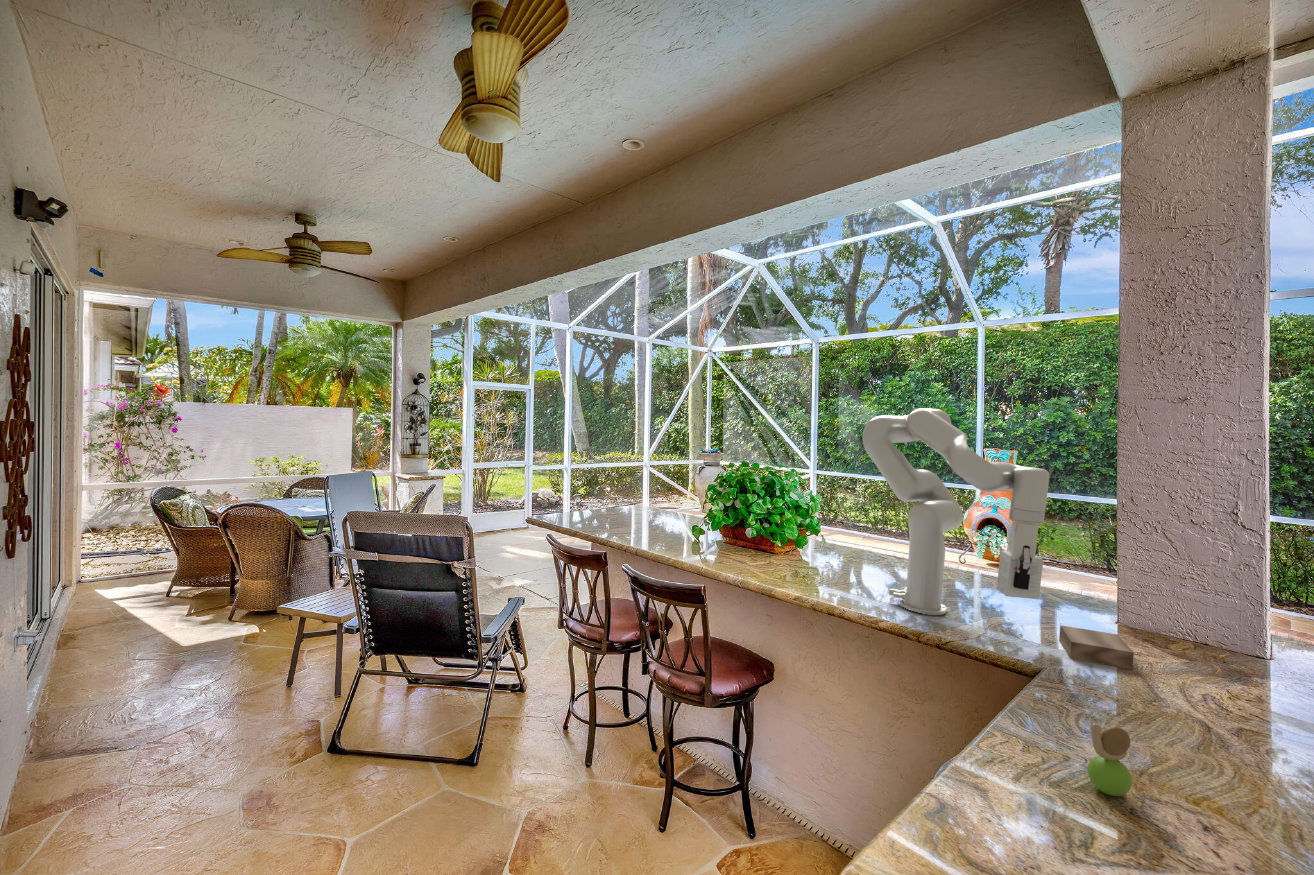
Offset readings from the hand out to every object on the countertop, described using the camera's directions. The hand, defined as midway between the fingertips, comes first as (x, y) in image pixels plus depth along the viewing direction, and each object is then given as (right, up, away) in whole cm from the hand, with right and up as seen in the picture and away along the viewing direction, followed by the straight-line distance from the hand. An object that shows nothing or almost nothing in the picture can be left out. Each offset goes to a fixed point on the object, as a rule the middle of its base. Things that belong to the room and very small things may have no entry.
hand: (1018, 583), depth 151 cm
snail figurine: (-24, -17, -60) cm, 67 cm away
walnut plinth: (+14, -15, -7) cm, 22 cm away
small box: (0, -3, 0) cm, 3 cm away
